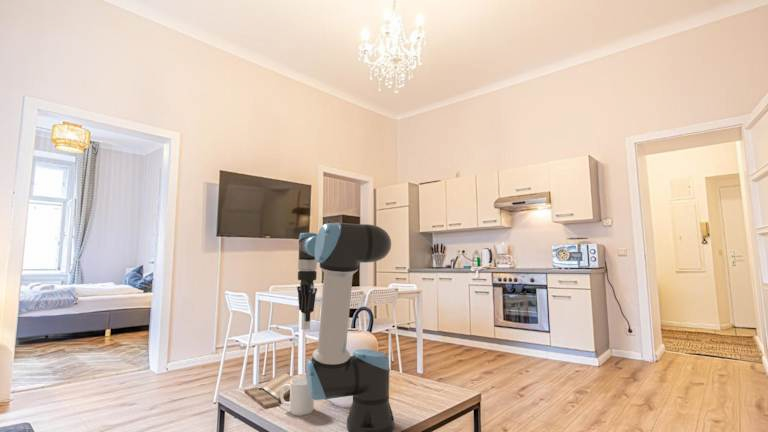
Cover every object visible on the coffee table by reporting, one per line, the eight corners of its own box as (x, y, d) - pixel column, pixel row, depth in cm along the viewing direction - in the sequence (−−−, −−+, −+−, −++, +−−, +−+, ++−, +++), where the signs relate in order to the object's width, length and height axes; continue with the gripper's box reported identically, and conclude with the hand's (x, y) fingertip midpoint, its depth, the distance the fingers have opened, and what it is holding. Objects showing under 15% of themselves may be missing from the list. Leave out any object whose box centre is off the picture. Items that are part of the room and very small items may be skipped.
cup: (310, 416, 133) (311, 385, 134) (275, 415, 134) (276, 384, 135) (316, 407, 141) (316, 377, 142) (283, 405, 142) (284, 376, 143)
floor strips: (278, 404, 143) (278, 401, 143) (264, 408, 140) (264, 404, 140) (258, 389, 158) (258, 386, 159) (244, 392, 155) (244, 389, 155)
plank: (300, 383, 151) (299, 380, 151) (279, 401, 145) (277, 398, 145) (283, 373, 163) (281, 370, 163) (262, 390, 158) (260, 387, 157)
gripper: (323, 270, 159) (322, 330, 156) (307, 269, 169) (306, 325, 167) (306, 271, 154) (305, 332, 152) (291, 270, 165) (289, 327, 162)
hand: (305, 329), depth 159 cm, fingers closed
